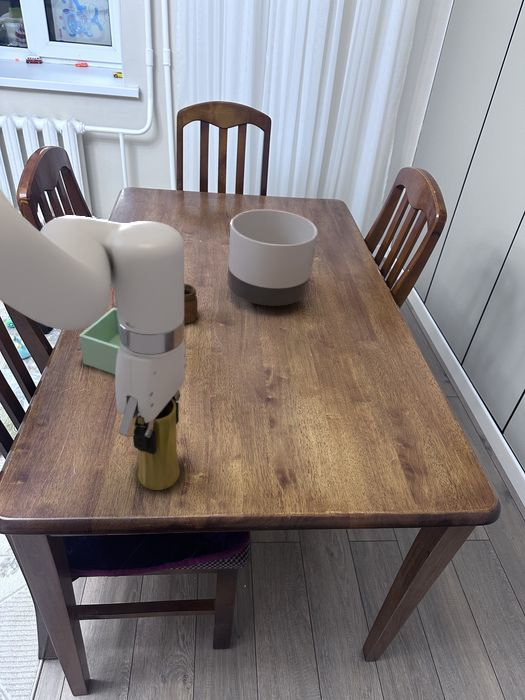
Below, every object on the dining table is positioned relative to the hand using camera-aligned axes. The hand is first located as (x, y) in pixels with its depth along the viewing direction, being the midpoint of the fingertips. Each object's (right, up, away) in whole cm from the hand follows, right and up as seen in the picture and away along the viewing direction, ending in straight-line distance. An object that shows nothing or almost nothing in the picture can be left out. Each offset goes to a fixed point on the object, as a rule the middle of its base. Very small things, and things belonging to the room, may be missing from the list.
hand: (157, 433), depth 68 cm
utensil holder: (-3, +19, +39) cm, 44 cm away
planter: (+16, +25, +50) cm, 58 cm away
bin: (-12, +11, +26) cm, 31 cm away
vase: (-1, -7, +5) cm, 9 cm away
